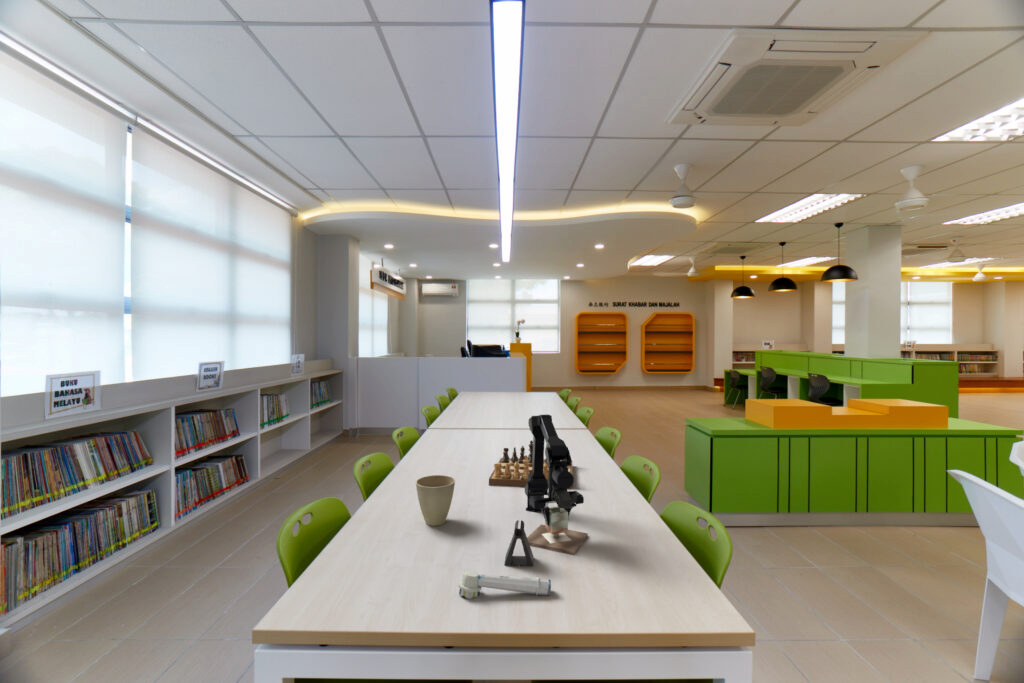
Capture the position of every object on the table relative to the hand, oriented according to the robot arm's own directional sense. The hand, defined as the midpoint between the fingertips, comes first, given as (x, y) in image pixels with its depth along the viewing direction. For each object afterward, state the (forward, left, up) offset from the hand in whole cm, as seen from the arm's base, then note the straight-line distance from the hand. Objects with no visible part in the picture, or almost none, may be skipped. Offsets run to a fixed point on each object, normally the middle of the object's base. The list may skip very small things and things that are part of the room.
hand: (556, 524), depth 162 cm
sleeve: (0, 0, -2) cm, 2 cm away
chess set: (-38, +68, -6) cm, 78 cm away
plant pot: (-47, -6, -6) cm, 48 cm away
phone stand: (-5, -20, -6) cm, 21 cm away
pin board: (0, 0, -6) cm, 6 cm away
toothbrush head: (-1, -39, -6) cm, 39 cm away
